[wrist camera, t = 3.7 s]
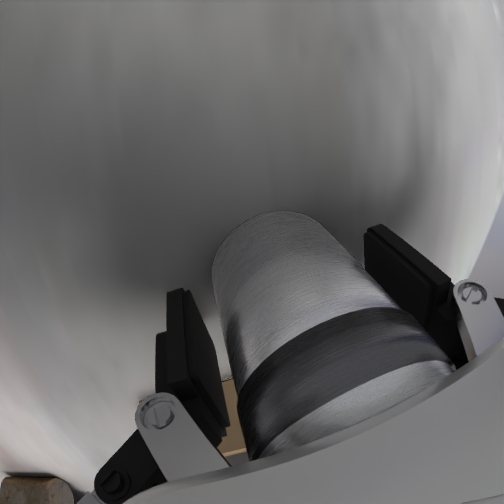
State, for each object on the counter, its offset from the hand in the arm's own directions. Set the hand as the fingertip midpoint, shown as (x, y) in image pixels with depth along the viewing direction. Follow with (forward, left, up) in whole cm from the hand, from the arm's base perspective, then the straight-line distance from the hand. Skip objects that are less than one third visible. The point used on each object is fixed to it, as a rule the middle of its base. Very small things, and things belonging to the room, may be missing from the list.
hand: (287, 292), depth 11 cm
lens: (0, 0, -1) cm, 1 cm away
